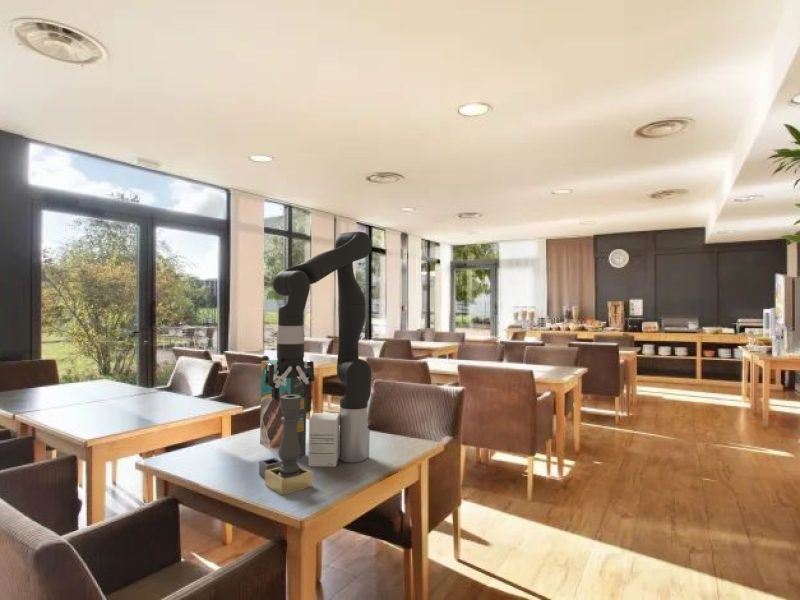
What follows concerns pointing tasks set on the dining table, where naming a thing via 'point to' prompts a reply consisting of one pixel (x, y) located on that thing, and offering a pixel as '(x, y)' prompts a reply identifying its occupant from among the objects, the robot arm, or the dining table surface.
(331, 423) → the supplement box
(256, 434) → the dining table surface
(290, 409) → the candle holder
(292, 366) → the robot arm
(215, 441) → the dining table surface
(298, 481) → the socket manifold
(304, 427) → the cake mix box
